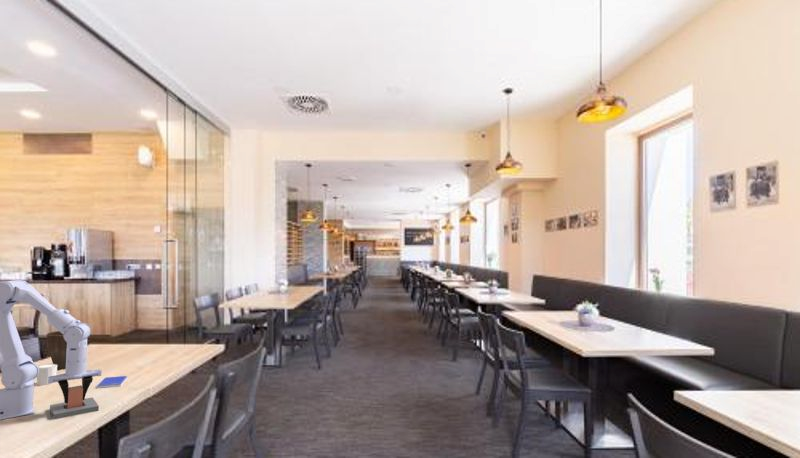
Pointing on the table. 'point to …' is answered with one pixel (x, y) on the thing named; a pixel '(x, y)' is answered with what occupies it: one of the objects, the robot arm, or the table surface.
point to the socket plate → (73, 409)
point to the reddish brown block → (75, 397)
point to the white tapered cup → (46, 373)
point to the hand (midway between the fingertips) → (74, 400)
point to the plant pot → (57, 348)
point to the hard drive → (112, 382)
